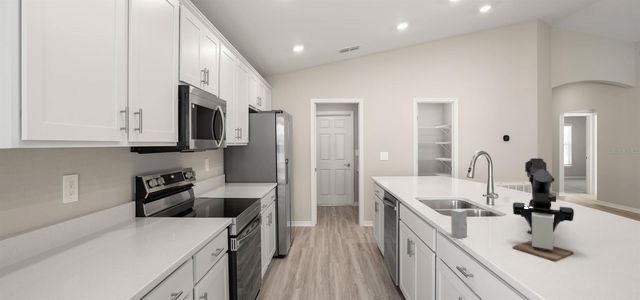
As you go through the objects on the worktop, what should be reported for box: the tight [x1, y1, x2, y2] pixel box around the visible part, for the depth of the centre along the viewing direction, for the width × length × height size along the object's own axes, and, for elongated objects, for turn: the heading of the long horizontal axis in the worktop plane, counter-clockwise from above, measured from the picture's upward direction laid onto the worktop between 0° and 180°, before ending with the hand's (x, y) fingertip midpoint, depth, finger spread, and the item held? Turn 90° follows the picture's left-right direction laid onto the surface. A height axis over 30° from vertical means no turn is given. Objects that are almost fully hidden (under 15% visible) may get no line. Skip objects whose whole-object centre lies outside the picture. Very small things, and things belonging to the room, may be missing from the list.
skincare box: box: [450, 208, 468, 239], centre depth 124 cm, size 6×4×12 cm
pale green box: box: [531, 212, 554, 250], centre depth 105 cm, size 6×6×12 cm
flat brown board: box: [512, 239, 574, 262], centre depth 105 cm, size 14×14×5 cm
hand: (542, 229), depth 104 cm, fingers closed on pale green box, 6 cm apart
